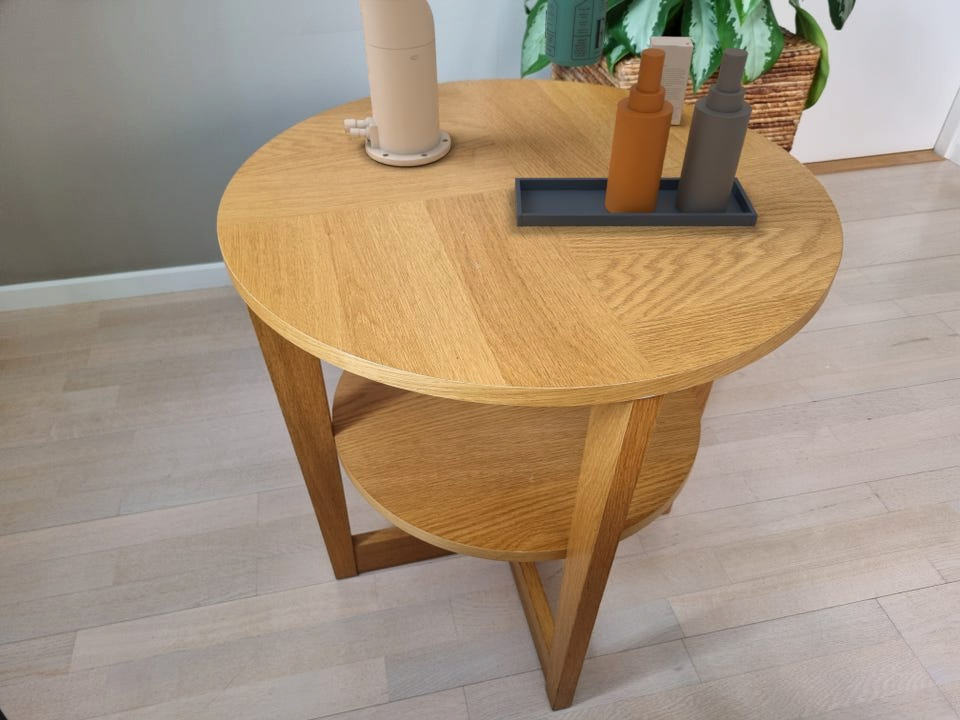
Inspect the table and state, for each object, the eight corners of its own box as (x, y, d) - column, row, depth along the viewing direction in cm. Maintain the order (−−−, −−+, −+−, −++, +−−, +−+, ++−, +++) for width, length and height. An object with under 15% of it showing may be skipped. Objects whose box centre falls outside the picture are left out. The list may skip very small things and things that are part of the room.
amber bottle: (608, 219, 87) (628, 62, 74) (601, 193, 92) (620, 42, 79) (659, 219, 87) (689, 62, 74) (650, 193, 92) (677, 42, 79)
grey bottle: (680, 219, 87) (713, 62, 74) (670, 193, 92) (700, 42, 79) (732, 218, 87) (774, 61, 74) (719, 193, 92) (756, 41, 79)
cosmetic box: (677, 114, 112) (691, 36, 104) (679, 126, 109) (695, 46, 101) (638, 113, 113) (650, 35, 105) (640, 124, 110) (652, 44, 102)
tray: (516, 231, 86) (517, 215, 85) (514, 193, 94) (515, 177, 92) (753, 231, 86) (758, 215, 85) (732, 192, 93) (737, 177, 92)
